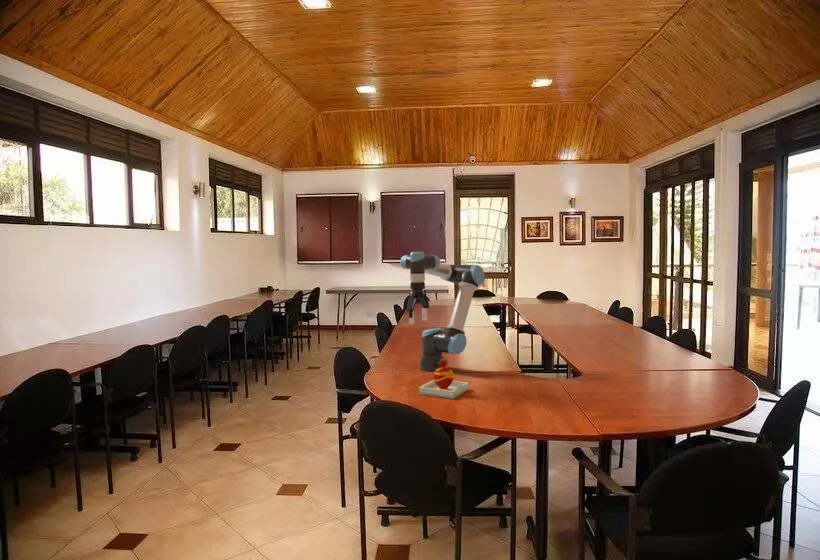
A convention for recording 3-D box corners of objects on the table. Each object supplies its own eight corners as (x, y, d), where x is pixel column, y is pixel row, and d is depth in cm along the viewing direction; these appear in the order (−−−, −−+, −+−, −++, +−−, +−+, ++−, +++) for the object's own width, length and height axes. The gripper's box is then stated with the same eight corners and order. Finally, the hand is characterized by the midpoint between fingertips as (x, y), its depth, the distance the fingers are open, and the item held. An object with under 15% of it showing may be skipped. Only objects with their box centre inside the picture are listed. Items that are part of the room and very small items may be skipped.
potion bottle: (437, 393, 257) (436, 362, 256) (430, 388, 267) (429, 358, 266) (457, 391, 259) (457, 361, 258) (450, 386, 269) (449, 356, 268)
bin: (436, 385, 275) (436, 378, 275) (468, 389, 266) (468, 382, 266) (419, 394, 260) (418, 387, 260) (452, 399, 251) (452, 391, 251)
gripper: (422, 279, 292) (423, 318, 293) (398, 283, 270) (399, 325, 272) (435, 280, 288) (435, 319, 289) (411, 283, 266) (412, 326, 268)
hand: (418, 322), depth 281 cm, fingers open, 13 cm apart
